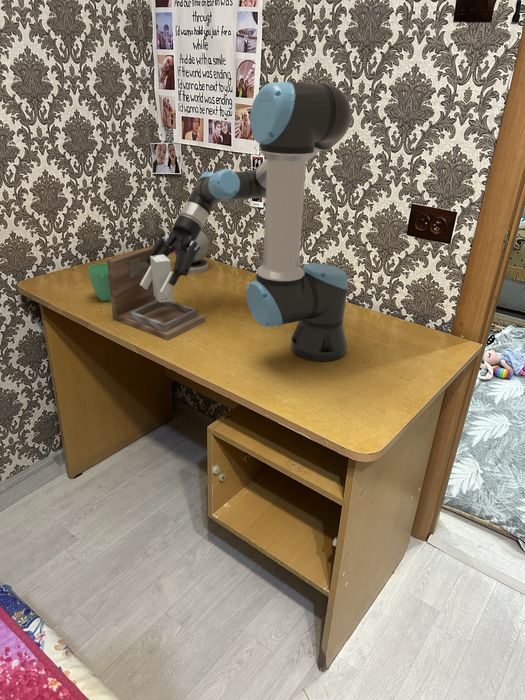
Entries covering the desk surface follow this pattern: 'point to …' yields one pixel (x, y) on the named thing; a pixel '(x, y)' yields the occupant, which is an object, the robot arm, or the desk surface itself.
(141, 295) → the brown l-shaped piece
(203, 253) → the webcam
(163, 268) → the skincare box
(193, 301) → the desk surface
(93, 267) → the mug
